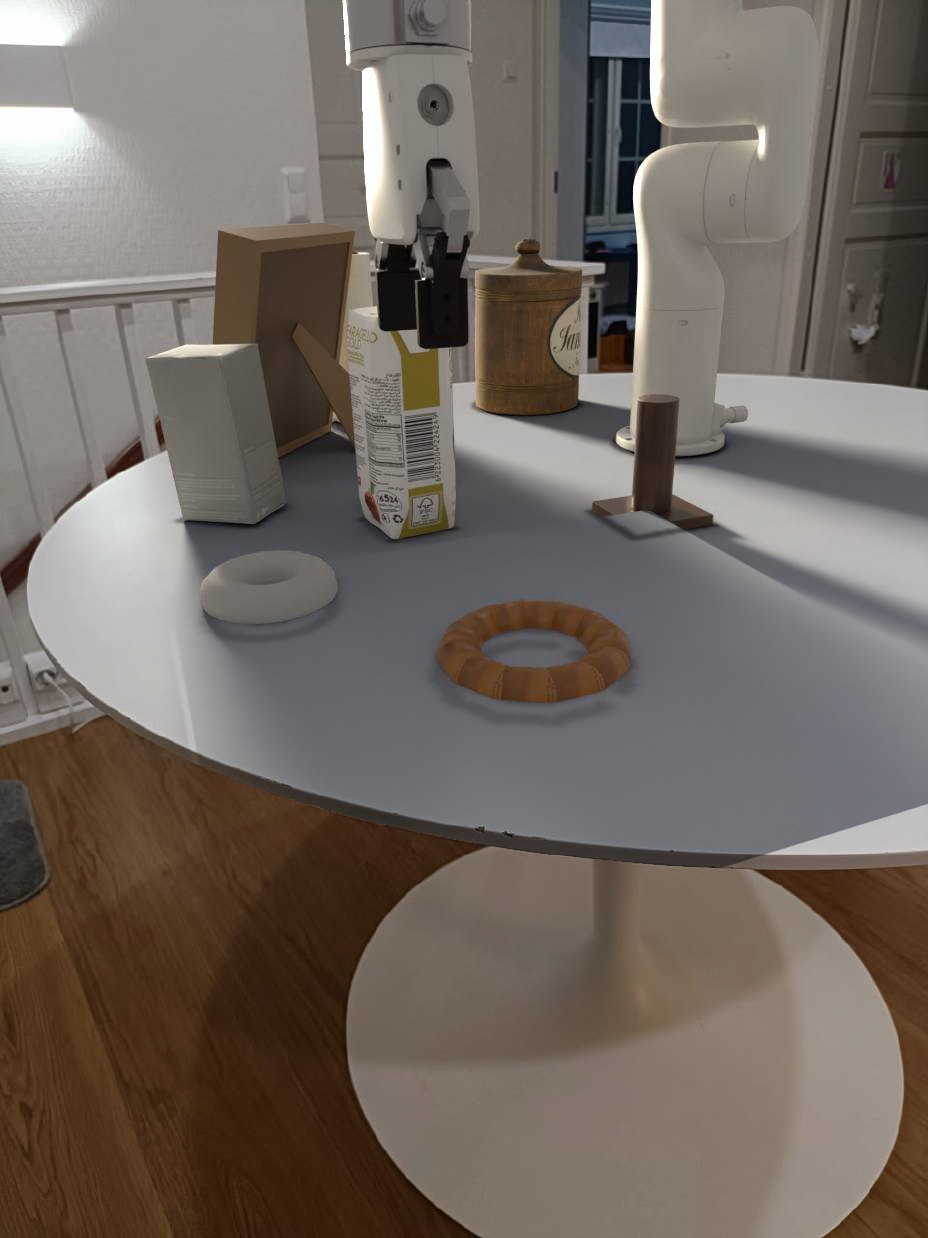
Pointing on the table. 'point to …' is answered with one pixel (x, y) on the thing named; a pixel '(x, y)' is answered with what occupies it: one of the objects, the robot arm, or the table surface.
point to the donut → (268, 587)
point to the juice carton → (401, 427)
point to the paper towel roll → (356, 298)
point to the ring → (534, 683)
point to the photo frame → (290, 320)
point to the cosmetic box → (218, 432)
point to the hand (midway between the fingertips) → (420, 337)
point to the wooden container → (527, 335)
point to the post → (655, 468)
